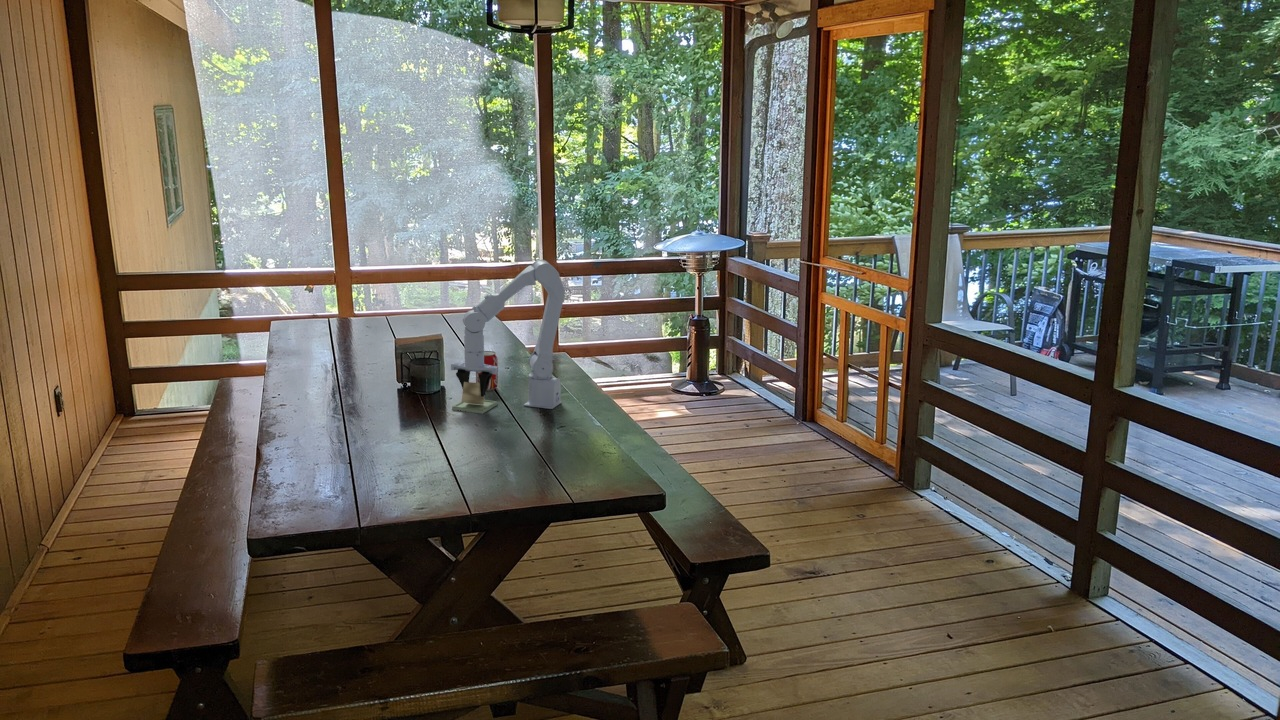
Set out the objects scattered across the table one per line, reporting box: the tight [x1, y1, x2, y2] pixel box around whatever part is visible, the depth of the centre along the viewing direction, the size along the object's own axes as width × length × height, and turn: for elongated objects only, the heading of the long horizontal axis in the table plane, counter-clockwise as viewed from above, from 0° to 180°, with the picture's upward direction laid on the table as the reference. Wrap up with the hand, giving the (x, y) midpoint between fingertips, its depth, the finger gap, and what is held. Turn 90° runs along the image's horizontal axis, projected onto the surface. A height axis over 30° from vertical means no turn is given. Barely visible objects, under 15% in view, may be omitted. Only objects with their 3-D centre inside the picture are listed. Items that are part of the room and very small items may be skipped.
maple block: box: [461, 381, 485, 405], centre depth 279 cm, size 5×5×6 cm
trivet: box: [451, 399, 498, 415], centre depth 281 cm, size 10×10×1 cm
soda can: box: [475, 350, 499, 392], centre depth 300 cm, size 7×7×12 cm
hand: (474, 394), depth 280 cm, fingers closed on maple block, 5 cm apart
